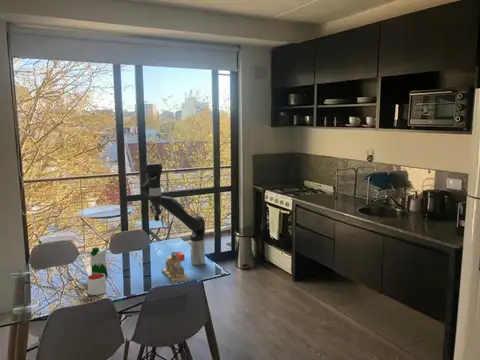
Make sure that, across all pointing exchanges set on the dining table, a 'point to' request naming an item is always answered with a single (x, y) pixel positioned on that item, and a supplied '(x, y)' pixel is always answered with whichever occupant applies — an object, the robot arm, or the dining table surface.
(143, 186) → the robot arm
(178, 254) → the lever
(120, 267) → the dining table surface
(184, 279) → the valve
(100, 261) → the milk carton
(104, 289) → the cup
